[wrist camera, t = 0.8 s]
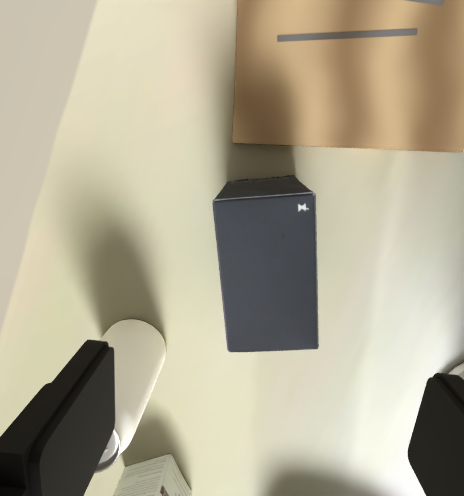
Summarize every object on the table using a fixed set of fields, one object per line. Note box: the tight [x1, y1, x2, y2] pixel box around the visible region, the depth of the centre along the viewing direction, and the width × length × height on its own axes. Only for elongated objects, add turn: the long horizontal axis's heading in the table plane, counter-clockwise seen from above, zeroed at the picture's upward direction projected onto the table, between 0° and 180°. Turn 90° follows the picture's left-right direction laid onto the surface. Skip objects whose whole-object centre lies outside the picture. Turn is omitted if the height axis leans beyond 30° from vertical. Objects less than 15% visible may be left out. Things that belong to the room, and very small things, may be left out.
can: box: [94, 319, 166, 473], centre depth 29 cm, size 6×6×12 cm
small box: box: [213, 175, 319, 352], centre depth 26 cm, size 11×6×10 cm, turn 5°
